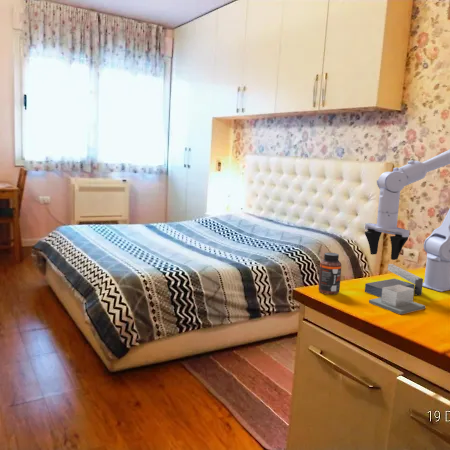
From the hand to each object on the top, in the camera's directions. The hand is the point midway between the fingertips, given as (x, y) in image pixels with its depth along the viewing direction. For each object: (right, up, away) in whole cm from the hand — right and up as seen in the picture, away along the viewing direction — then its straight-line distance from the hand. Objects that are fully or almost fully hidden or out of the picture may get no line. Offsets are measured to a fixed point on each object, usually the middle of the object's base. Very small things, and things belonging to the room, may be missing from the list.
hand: (383, 256), depth 134 cm
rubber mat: (-2, -12, -16) cm, 20 cm away
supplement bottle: (-18, -10, -6) cm, 21 cm away
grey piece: (0, -10, -4) cm, 11 cm away
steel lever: (+7, -9, +2) cm, 12 cm away
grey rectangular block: (-2, -11, -16) cm, 20 cm away
